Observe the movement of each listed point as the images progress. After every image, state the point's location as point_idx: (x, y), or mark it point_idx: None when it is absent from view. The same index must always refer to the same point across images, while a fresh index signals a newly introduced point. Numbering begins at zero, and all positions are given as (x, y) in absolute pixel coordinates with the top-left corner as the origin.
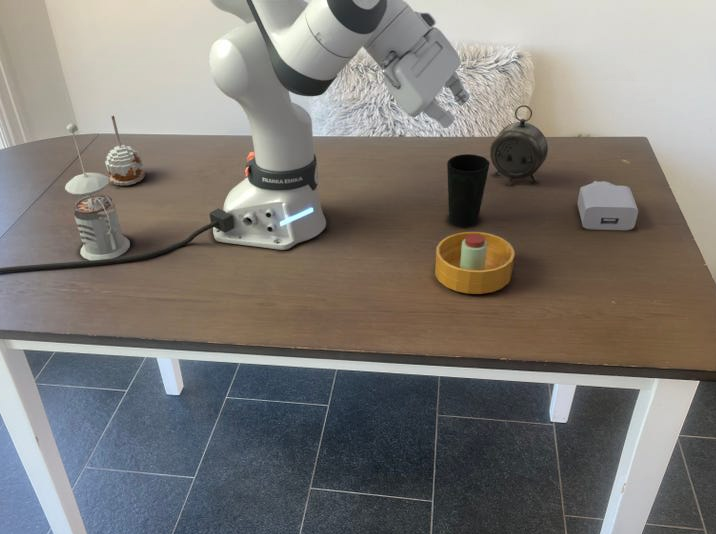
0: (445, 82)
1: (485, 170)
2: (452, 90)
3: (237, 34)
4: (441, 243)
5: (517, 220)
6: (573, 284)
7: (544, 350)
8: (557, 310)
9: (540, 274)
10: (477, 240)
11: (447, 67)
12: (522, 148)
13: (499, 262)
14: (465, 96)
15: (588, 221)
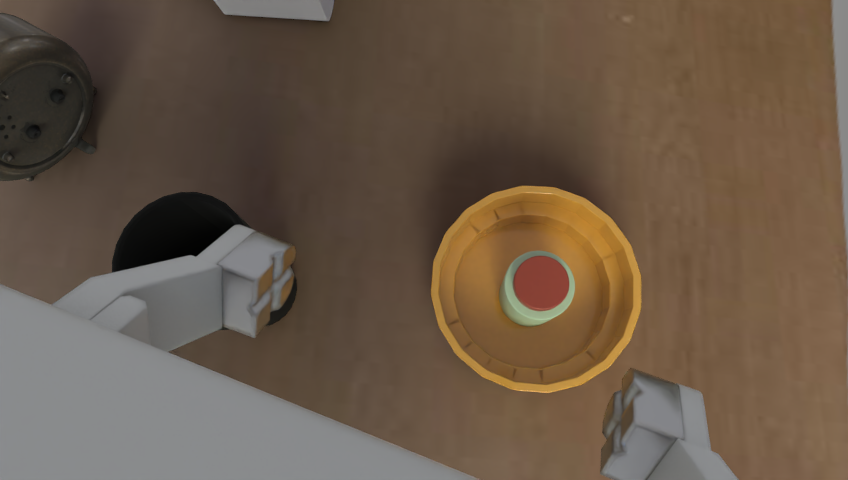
0: (413, 454)
1: (232, 210)
2: (178, 340)
3: None
4: (493, 373)
5: (275, 157)
6: (561, 81)
7: (815, 176)
8: (664, 128)
9: (521, 141)
10: (555, 277)
11: (130, 416)
12: (27, 84)
13: (499, 225)
14: (279, 256)
15: (327, 3)
